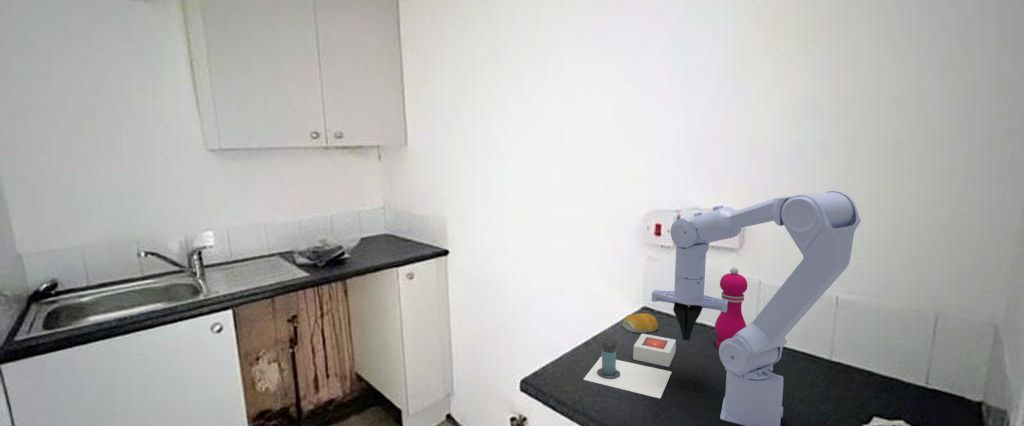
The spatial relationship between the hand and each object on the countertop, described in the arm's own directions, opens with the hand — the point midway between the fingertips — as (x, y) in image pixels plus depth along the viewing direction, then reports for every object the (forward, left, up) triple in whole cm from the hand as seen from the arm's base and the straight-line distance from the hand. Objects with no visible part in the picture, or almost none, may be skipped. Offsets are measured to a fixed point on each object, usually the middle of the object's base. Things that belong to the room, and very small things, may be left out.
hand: (686, 338), depth 99 cm
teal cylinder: (+15, +5, -9) cm, 18 cm away
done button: (+8, -8, -8) cm, 14 cm away
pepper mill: (-7, -22, -10) cm, 25 cm away
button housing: (+8, -8, -9) cm, 15 cm away
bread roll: (+15, -24, -10) cm, 30 cm away
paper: (+11, +4, -9) cm, 15 cm away
